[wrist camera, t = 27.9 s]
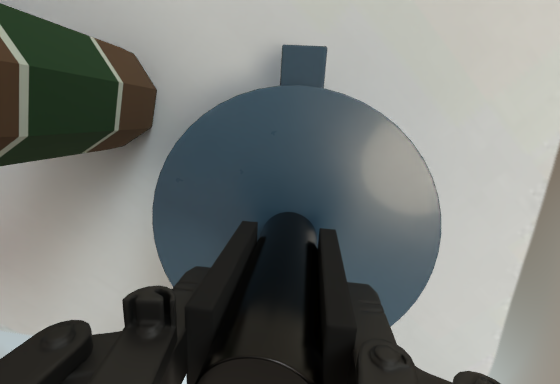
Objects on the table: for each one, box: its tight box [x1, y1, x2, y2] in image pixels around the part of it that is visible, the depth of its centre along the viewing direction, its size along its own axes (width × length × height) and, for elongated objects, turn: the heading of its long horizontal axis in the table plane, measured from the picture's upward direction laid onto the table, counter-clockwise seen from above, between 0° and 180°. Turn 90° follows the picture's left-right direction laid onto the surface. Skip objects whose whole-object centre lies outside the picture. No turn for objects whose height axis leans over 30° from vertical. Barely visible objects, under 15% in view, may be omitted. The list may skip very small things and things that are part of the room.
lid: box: [153, 85, 441, 384], centre depth 11 cm, size 16×16×11 cm
